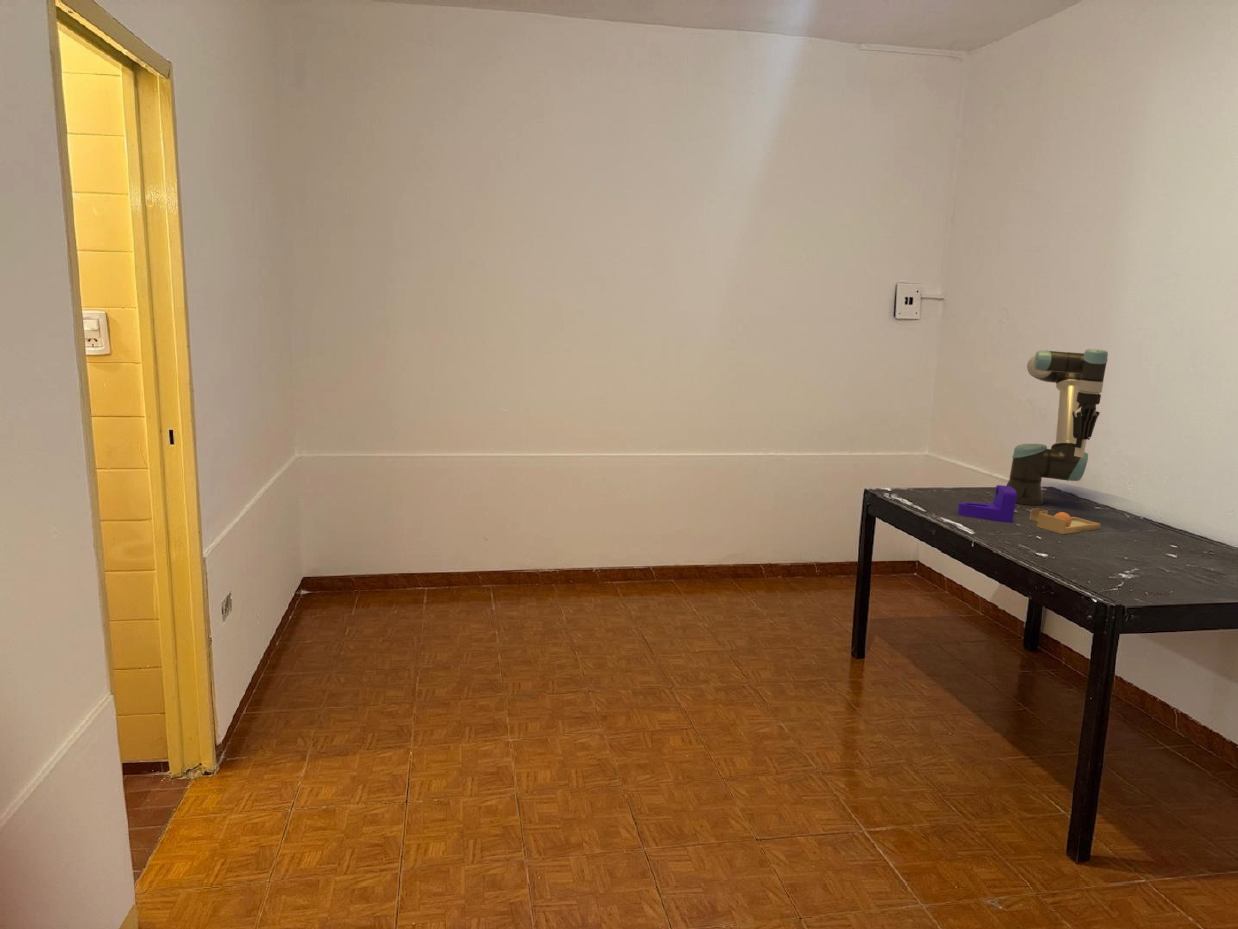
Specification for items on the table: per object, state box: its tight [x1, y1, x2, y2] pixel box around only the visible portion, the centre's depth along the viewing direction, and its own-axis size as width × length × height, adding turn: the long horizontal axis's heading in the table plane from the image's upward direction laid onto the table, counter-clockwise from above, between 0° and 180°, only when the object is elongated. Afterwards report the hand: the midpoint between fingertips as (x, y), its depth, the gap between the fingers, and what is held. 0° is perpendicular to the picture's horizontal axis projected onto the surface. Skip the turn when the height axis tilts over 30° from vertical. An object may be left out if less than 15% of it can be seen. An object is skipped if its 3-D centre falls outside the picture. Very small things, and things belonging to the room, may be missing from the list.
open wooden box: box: [1029, 507, 1049, 523], centre depth 319 cm, size 4×4×4 cm
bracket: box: [957, 484, 1017, 524], centre depth 319 cm, size 18×11×12 cm, turn 80°
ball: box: [1053, 511, 1072, 527], centre depth 307 cm, size 6×6×6 cm
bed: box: [1036, 513, 1101, 535], centre depth 310 cm, size 22×10×5 cm, turn 119°
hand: (1078, 456), depth 317 cm, fingers closed
